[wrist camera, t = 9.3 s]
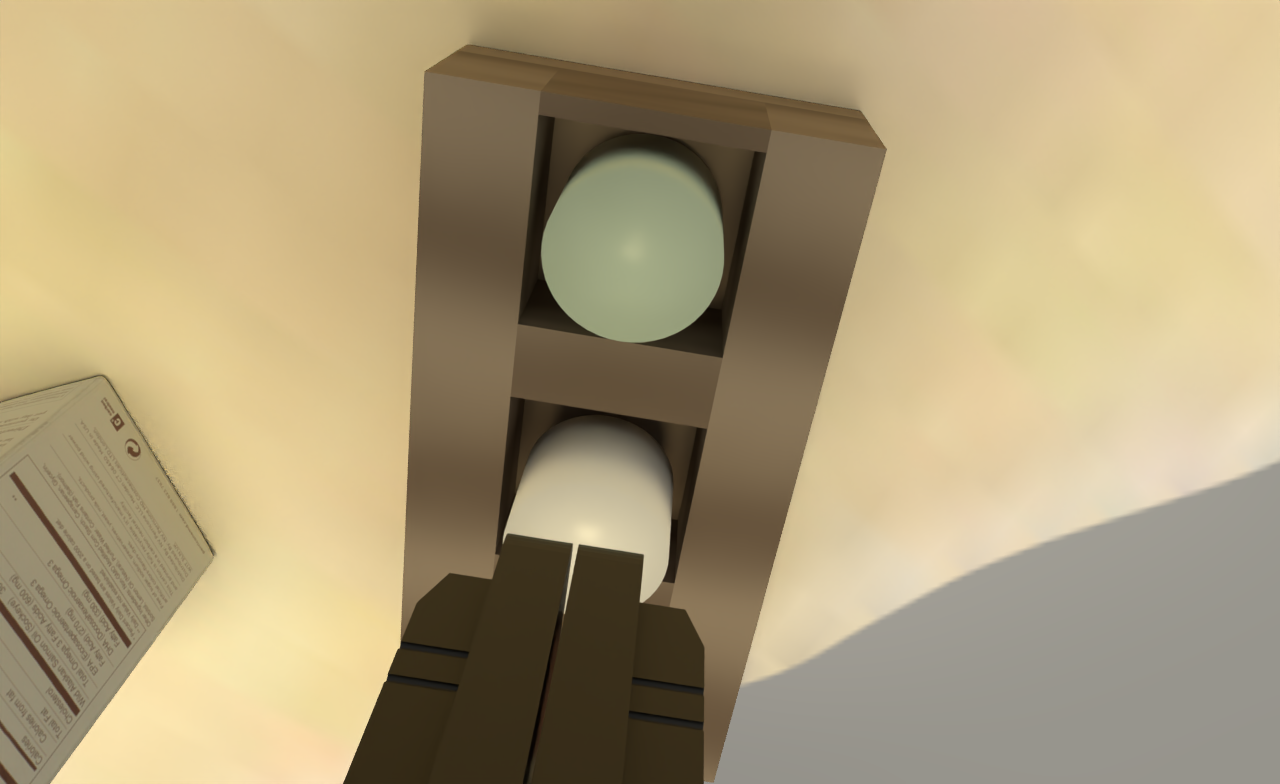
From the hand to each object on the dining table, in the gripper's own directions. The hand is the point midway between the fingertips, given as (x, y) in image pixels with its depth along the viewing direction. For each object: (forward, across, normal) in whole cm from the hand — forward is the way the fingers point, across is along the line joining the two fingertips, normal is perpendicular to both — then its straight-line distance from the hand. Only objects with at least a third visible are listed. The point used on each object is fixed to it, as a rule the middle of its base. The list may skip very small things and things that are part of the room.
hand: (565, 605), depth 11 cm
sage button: (+15, 0, 0) cm, 15 cm away
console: (+17, 0, +7) cm, 18 cm away
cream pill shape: (+13, 0, +7) cm, 15 cm away
